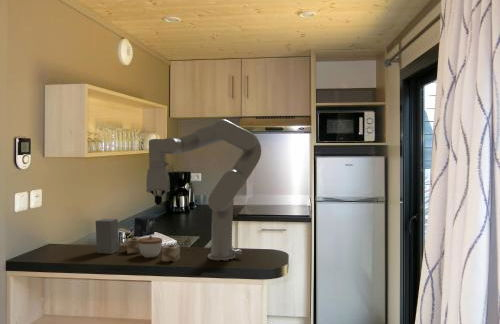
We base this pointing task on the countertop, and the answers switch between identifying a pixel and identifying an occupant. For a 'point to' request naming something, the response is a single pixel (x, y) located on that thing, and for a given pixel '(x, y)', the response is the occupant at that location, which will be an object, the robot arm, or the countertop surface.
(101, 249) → the skincare box
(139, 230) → the box
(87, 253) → the countertop surface
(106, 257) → the countertop surface
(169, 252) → the marked block near
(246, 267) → the countertop surface
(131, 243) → the marked block far
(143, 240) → the lidded jar
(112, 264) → the countertop surface
